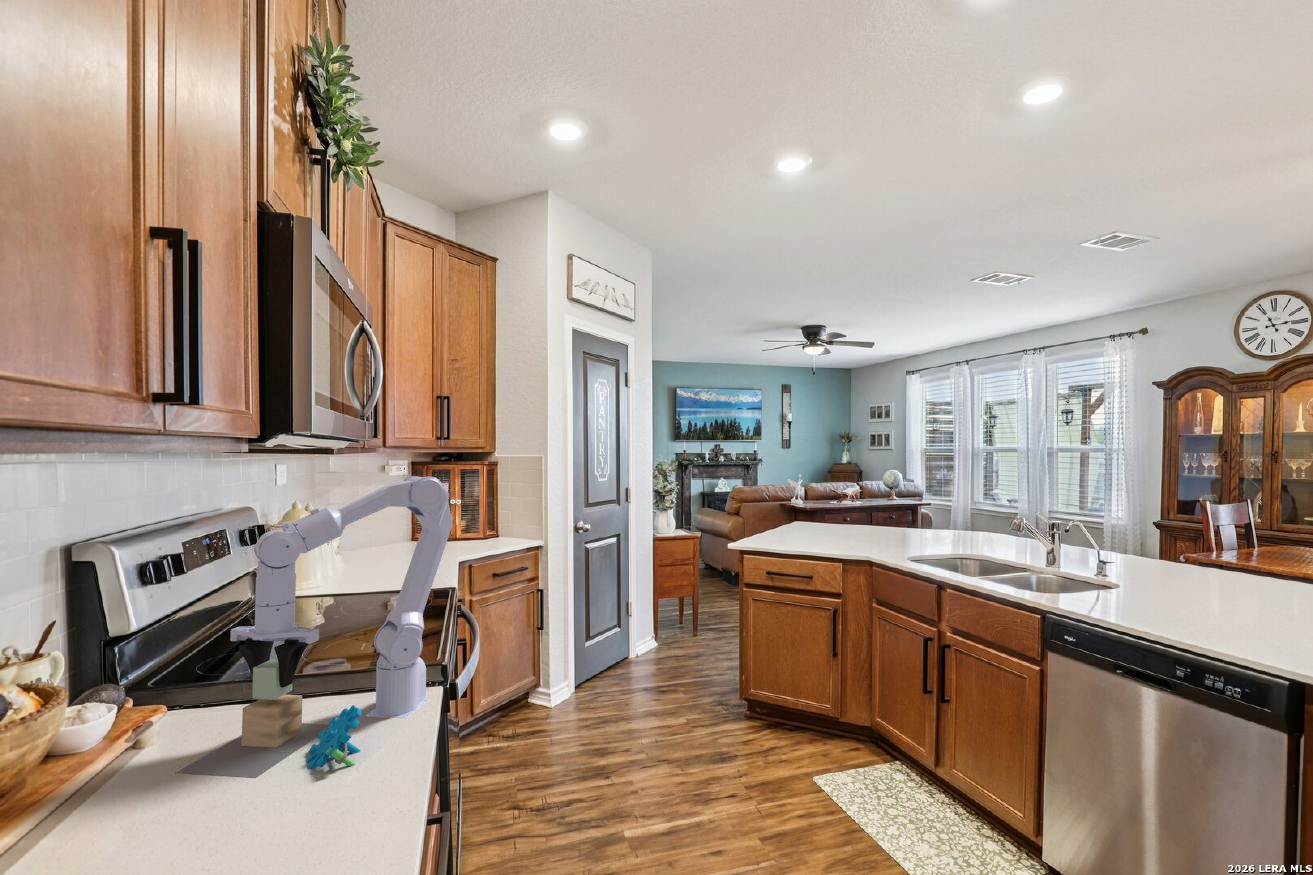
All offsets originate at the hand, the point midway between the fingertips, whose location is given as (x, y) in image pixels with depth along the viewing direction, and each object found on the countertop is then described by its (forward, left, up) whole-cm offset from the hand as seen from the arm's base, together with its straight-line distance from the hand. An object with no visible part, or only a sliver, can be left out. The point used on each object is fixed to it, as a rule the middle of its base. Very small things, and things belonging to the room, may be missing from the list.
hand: (273, 684), depth 101 cm
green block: (0, 0, -2) cm, 2 cm away
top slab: (0, 0, -6) cm, 6 cm away
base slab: (0, 0, -9) cm, 9 cm away
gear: (+5, +15, -10) cm, 18 cm away
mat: (+3, 0, -9) cm, 10 cm away
